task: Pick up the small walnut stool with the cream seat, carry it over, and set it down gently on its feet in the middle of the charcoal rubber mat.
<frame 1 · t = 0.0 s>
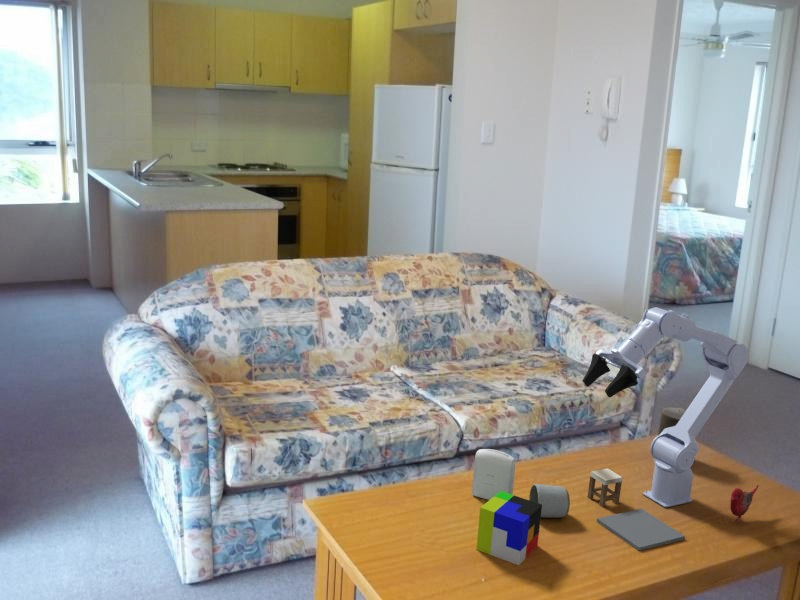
hand: (595, 388, 189), 32 cm above the table, tool tilted 50°, fingers open, 7 cm apart
mat: (639, 530, 192), on the table
ceramic mug: (544, 513, 198), on the table
decorative bird figurine: (740, 519, 202), on the table
stool: (603, 500, 206), on the table
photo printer: (491, 498, 204), on the table
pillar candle: (672, 459, 235), on the table
puzzle toy: (507, 548, 181), on the table
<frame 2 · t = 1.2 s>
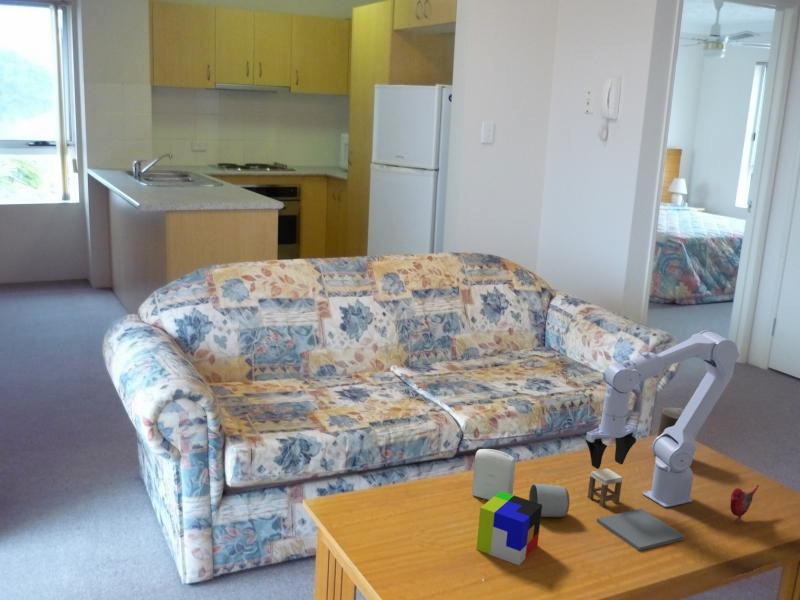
hand: (607, 464, 204), 10 cm above the table, tool pointing down, fingers open, 7 cm apart
nothing on the table moved.
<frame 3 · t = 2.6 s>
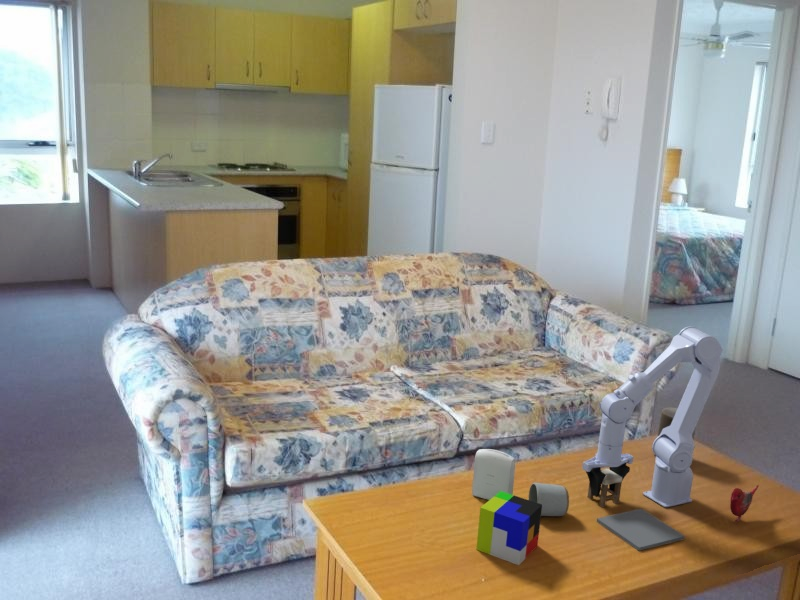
hand: (604, 493, 206), 2 cm above the table, tool pointing down, fingers closed on stool, 5 cm apart
stool: (603, 500, 206), on the table, touching gripper
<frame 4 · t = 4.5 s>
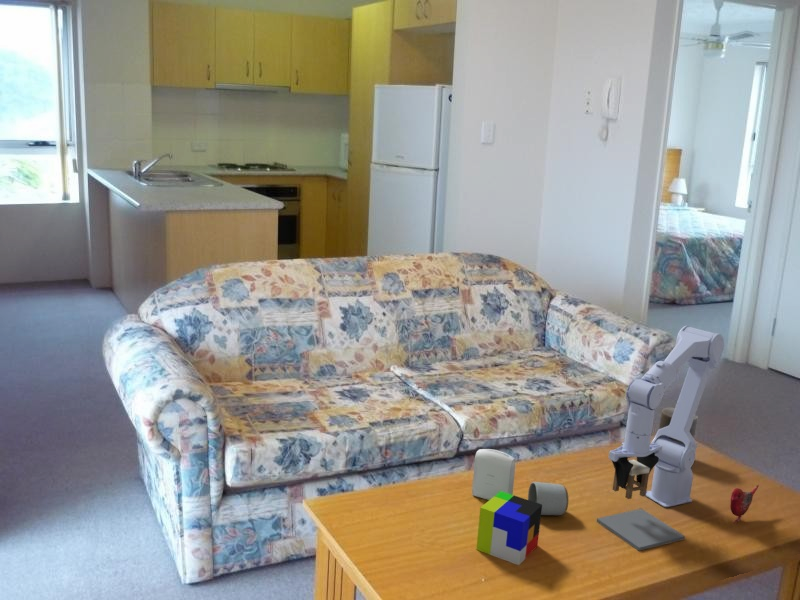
hand: (631, 484, 195), 9 cm above the table, tool pointing down, fingers closed on stool, 5 cm apart
stool: (629, 492, 196), point 7 cm above the table, touching gripper
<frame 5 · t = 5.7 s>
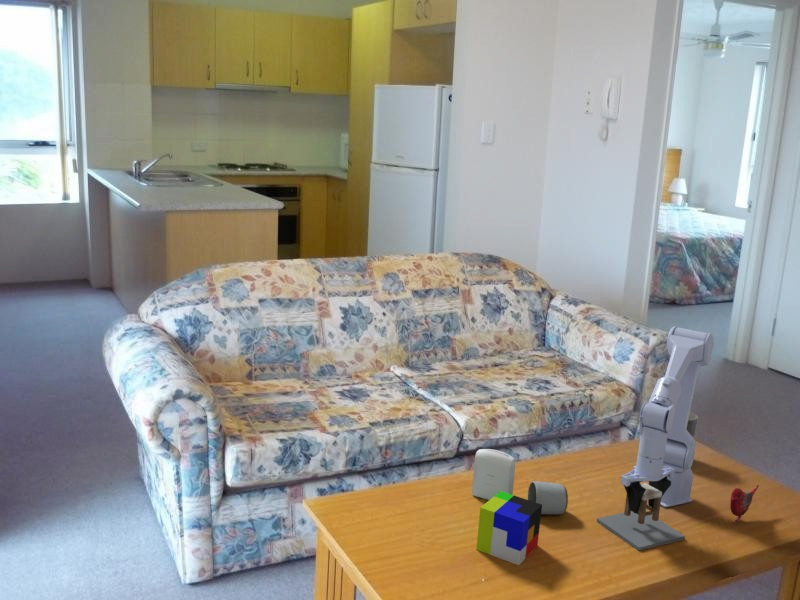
hand: (643, 509, 191), 5 cm above the table, tool pointing down, fingers closed on stool, 5 cm apart
stool: (641, 517, 192), point 3 cm above the table, touching gripper
when the fingers open (4 cm above the table, at t = 6.7 s): stool stays where it is, resting on mat.
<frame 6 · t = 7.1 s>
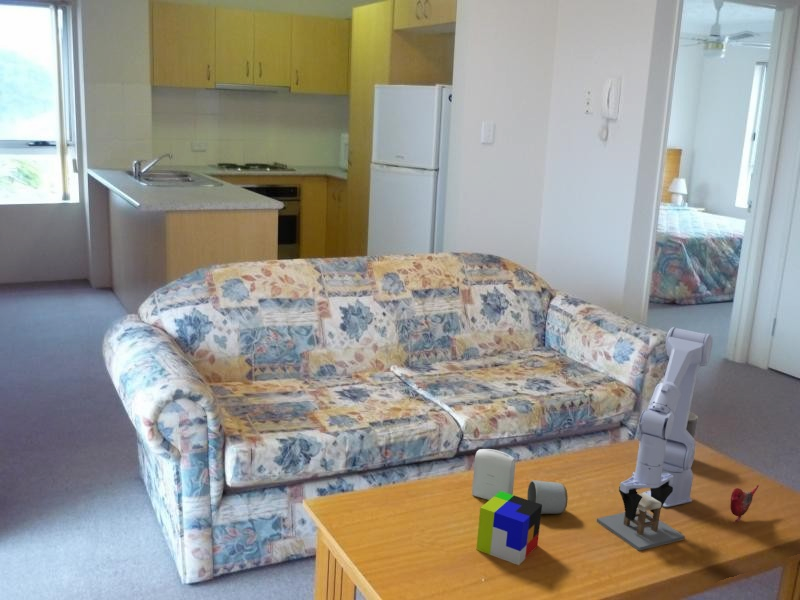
hand: (642, 515, 192), 4 cm above the table, tool pointing down, fingers open, 7 cm apart
stool: (640, 527, 192), point 1 cm above the table, touching mat
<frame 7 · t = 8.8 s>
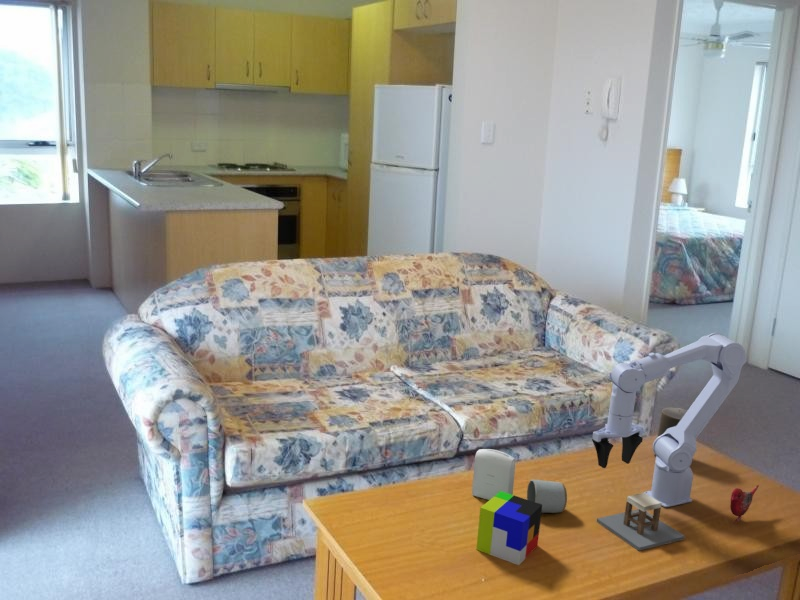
hand: (613, 464, 205), 9 cm above the table, tool pointing down, fingers open, 7 cm apart
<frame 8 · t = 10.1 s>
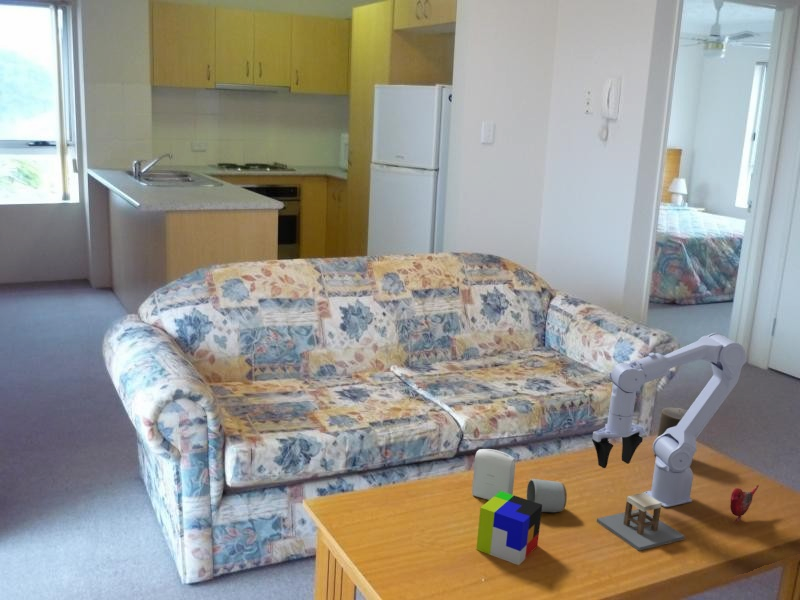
hand: (613, 464, 205), 9 cm above the table, tool pointing down, fingers open, 7 cm apart
at the end: stool inside the target area on the mat (0.1 cm from its centre), point 0.8 cm above the mat's base; stool tilted 0°; the gripper is holding nothing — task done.
